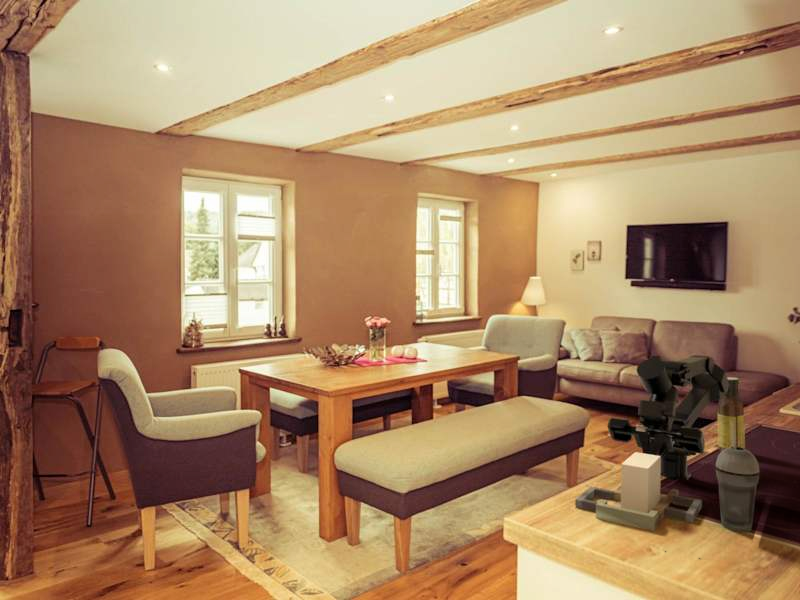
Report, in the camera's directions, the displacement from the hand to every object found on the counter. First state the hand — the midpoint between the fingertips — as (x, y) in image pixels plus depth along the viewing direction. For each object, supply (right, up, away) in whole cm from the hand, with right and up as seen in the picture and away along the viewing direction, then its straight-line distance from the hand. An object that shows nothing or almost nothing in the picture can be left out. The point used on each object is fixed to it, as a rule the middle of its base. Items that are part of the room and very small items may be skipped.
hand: (647, 469), depth 126 cm
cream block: (-3, -6, -4) cm, 8 cm away
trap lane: (-4, -7, -5) cm, 9 cm away
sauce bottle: (+36, -6, +35) cm, 51 cm away
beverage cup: (+10, -7, -15) cm, 20 cm away
